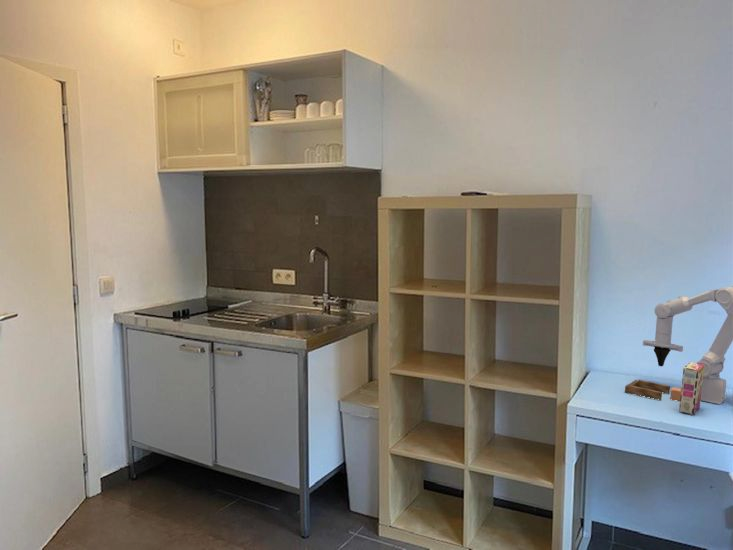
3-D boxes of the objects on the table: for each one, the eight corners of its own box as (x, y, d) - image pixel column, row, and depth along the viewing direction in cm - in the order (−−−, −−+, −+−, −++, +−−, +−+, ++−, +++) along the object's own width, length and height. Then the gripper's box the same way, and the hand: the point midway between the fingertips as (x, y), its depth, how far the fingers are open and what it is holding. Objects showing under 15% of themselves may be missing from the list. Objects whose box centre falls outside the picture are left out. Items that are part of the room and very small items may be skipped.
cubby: (669, 393, 231) (670, 386, 231) (660, 400, 223) (660, 392, 223) (635, 386, 240) (635, 378, 240) (624, 392, 232) (625, 385, 231)
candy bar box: (694, 416, 208) (698, 370, 206) (678, 412, 211) (682, 367, 209) (700, 407, 216) (704, 363, 214) (685, 404, 219) (689, 361, 217)
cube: (683, 399, 225) (684, 389, 225) (682, 402, 222) (683, 391, 222) (671, 397, 228) (672, 387, 227) (670, 400, 224) (671, 389, 224)
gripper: (686, 334, 236) (683, 367, 238) (647, 328, 246) (645, 360, 247) (681, 337, 231) (678, 371, 232) (642, 331, 240) (639, 363, 242)
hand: (660, 365), depth 240 cm, fingers closed
